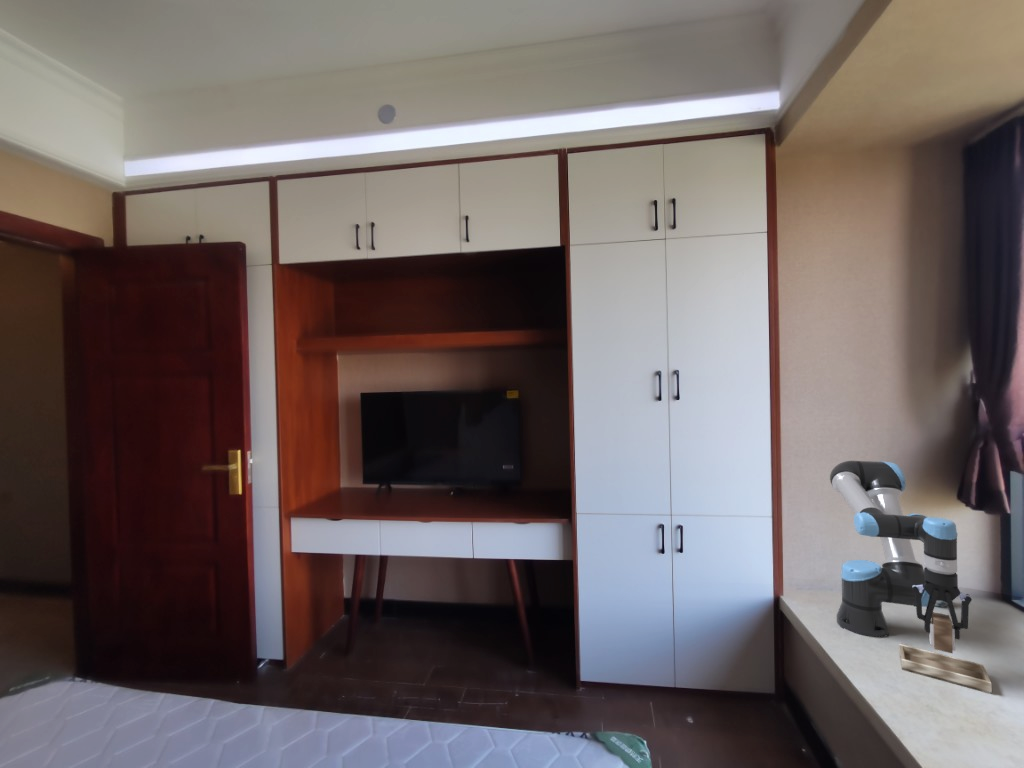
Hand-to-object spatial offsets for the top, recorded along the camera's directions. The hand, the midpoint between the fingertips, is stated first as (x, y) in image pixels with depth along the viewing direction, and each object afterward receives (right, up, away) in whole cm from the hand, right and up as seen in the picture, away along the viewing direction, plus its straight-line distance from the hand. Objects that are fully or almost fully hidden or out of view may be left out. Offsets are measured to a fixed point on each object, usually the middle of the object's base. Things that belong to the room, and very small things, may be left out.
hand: (942, 645), depth 141 cm
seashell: (+41, -5, +39) cm, 56 cm away
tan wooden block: (0, 0, 0) cm, 0 cm away
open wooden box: (0, -8, 0) cm, 8 cm away
